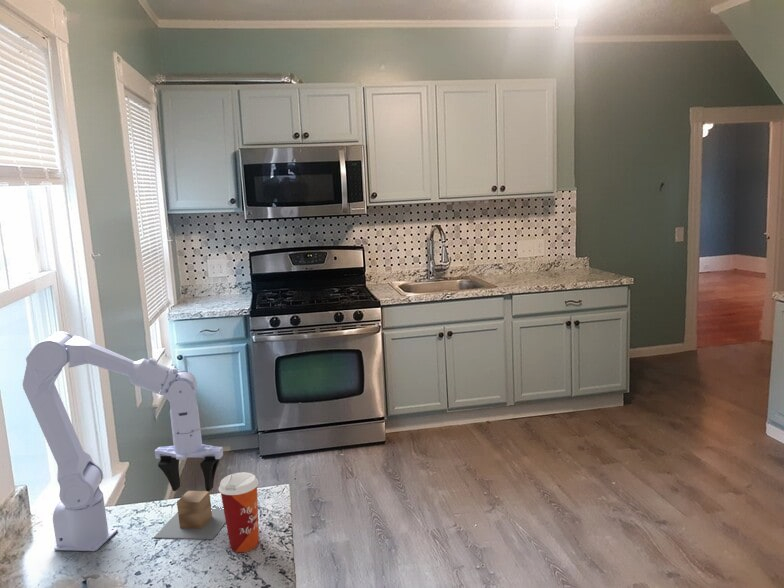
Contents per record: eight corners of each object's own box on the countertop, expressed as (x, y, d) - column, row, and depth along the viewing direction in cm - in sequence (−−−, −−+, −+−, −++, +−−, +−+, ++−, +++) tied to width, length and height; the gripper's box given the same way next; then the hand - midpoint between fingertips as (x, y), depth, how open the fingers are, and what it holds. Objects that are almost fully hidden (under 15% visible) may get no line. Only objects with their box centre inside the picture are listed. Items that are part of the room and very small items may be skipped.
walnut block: (179, 528, 131) (176, 502, 130) (190, 516, 136) (187, 490, 135) (201, 528, 130) (198, 502, 129) (212, 516, 135) (209, 491, 134)
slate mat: (153, 538, 128) (153, 537, 128) (183, 506, 141) (183, 506, 141) (212, 539, 126) (212, 538, 126) (237, 507, 139) (237, 506, 139)
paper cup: (254, 556, 119) (247, 489, 117) (218, 554, 121) (210, 487, 118) (270, 535, 127) (264, 471, 124) (235, 532, 128) (229, 469, 126)
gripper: (144, 436, 127) (152, 497, 129) (210, 436, 125) (217, 498, 127) (161, 423, 134) (168, 482, 136) (224, 423, 132) (230, 482, 134)
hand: (193, 489), depth 132 cm, fingers open, 7 cm apart
